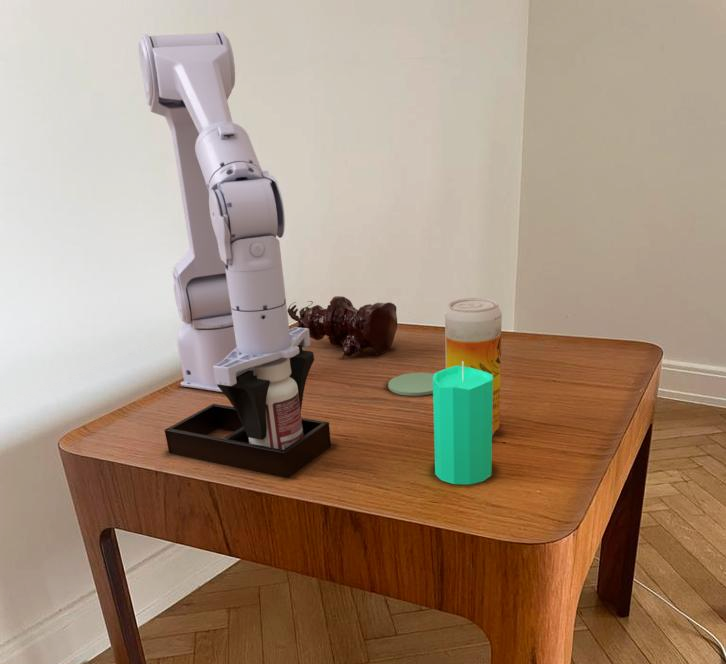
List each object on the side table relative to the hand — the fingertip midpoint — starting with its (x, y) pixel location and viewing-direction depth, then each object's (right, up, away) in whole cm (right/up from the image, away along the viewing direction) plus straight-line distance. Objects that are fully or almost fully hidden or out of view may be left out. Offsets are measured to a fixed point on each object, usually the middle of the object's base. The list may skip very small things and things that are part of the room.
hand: (274, 426), depth 83 cm
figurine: (+6, +15, +36) cm, 40 cm away
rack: (-3, -2, +4) cm, 5 cm away
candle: (+20, -5, -5) cm, 22 cm away
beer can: (+23, -1, +4) cm, 23 cm away
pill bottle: (0, -3, +2) cm, 4 cm away
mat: (+17, +7, +19) cm, 27 cm away
